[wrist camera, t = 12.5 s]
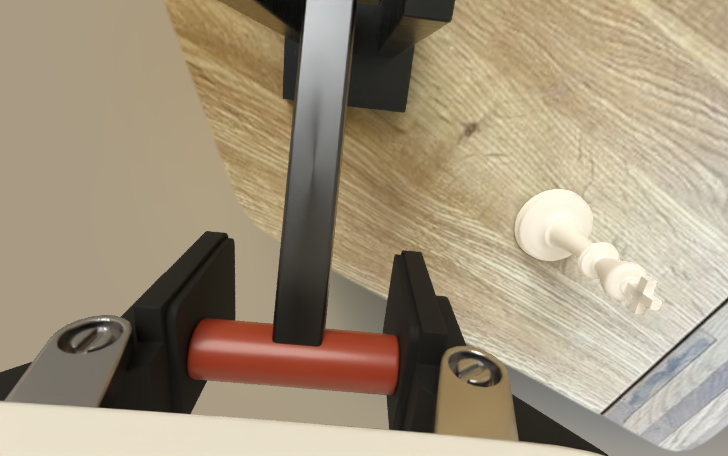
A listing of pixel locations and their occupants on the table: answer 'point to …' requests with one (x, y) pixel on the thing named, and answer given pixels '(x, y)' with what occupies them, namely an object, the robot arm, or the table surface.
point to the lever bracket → (361, 44)
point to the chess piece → (581, 246)
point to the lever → (306, 244)
